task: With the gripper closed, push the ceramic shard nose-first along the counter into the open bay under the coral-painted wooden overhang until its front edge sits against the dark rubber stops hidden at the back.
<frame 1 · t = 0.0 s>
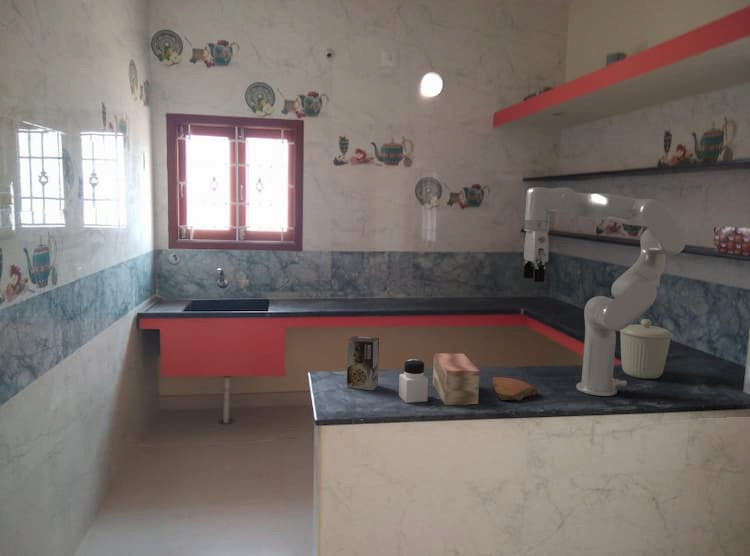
hand: (533, 279, 185), 37 cm above the worktop, tool pointing down, fingers open, 9 cm apart
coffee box: (362, 387, 188), on the worktop
ceramic shard: (506, 395, 184), on the worktop
medicine bottle: (412, 399, 177), on the worktop
canister: (641, 375, 211), on the worktop
overhang bay: (454, 393, 183), on the worktop
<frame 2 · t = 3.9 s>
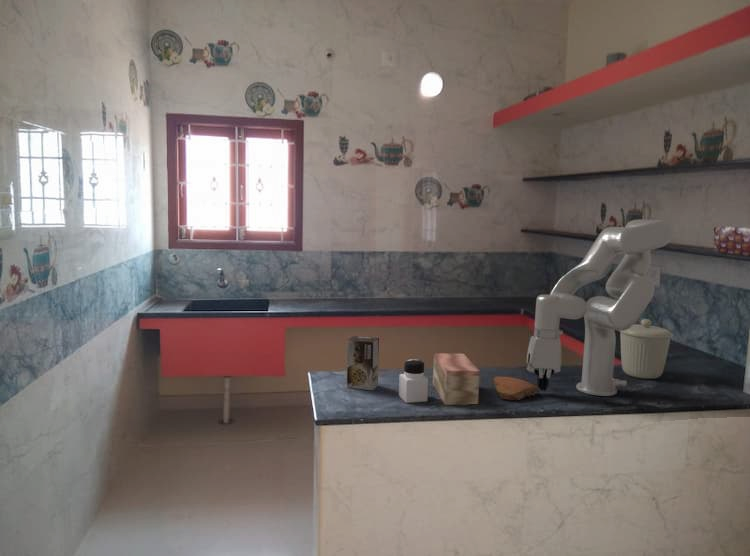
hand: (542, 389, 185), 2 cm above the worktop, tool pointing down, fingers closed
nothing on the worktop moved.
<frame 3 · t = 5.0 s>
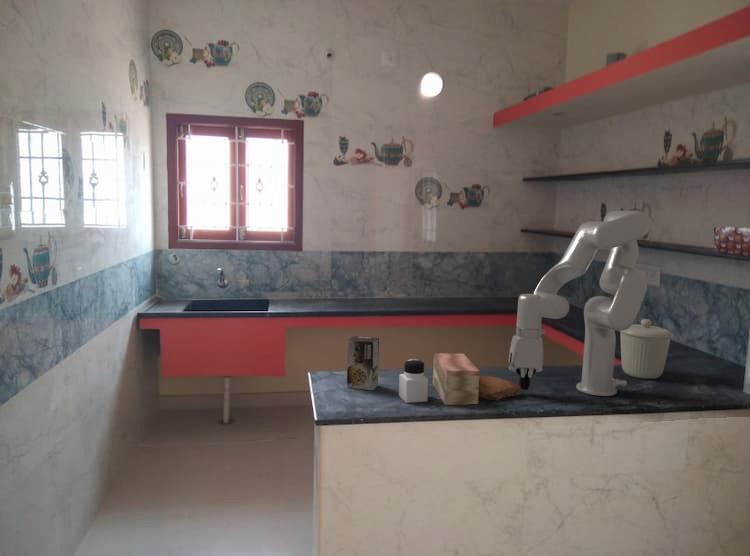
hand: (524, 388, 185), 2 cm above the worktop, tool pointing down, fingers closed
ceramic shard: (490, 394, 185), on the worktop, touching gripper
everything else where it was.
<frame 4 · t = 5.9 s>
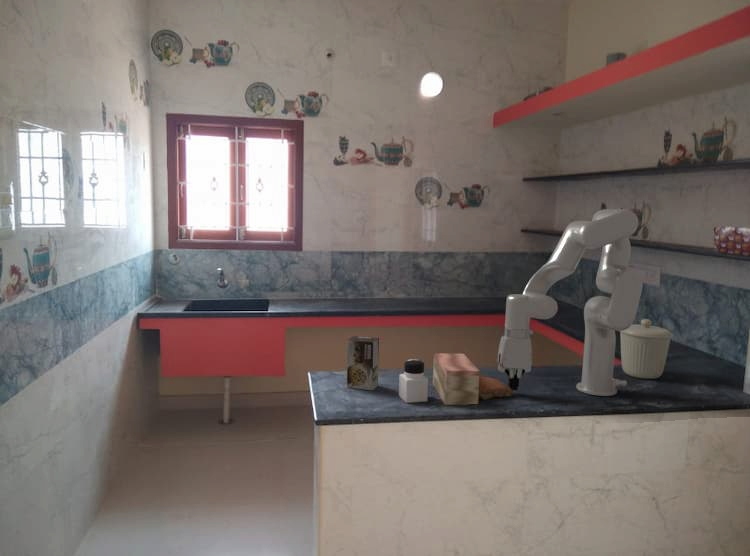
hand: (513, 389, 184), 2 cm above the worktop, tool pointing down, fingers closed
ceramic shard: (480, 394, 185), on the worktop, touching gripper
everything else where it was.
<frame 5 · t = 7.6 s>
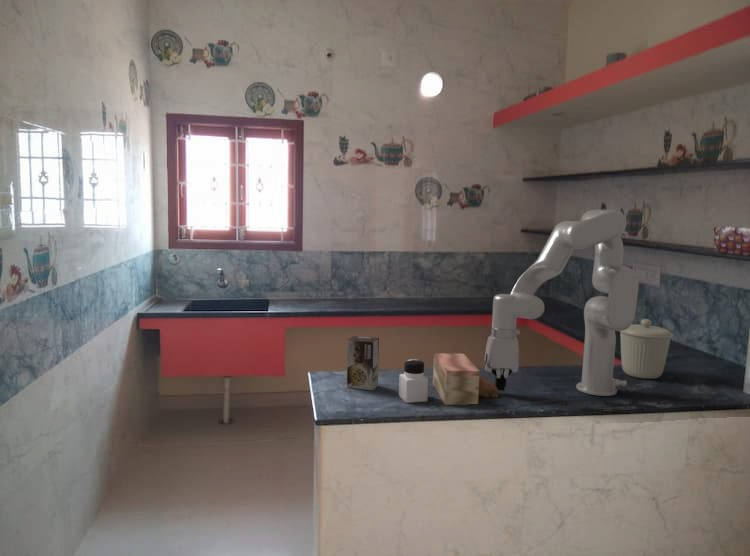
hand: (500, 389, 184), 2 cm above the worktop, tool pointing down, fingers closed
ceramic shard: (468, 393, 185), on the worktop, touching gripper
everything else where it was.
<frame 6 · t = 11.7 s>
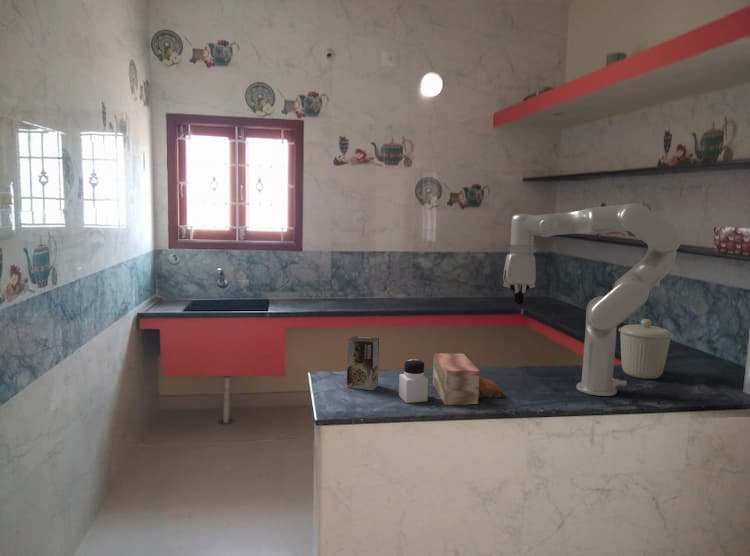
hand: (518, 304, 196), 27 cm above the worktop, tool pointing down, fingers closed
ceramic shard: (472, 393, 185), on the worktop
everything else where it was.
at the end: ceramic shard 1.9 cm from the target spot on the overhang bay, point -0.6 cm above the overhang bay's base; ceramic shard tilted 0°; the gripper is holding nothing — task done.
